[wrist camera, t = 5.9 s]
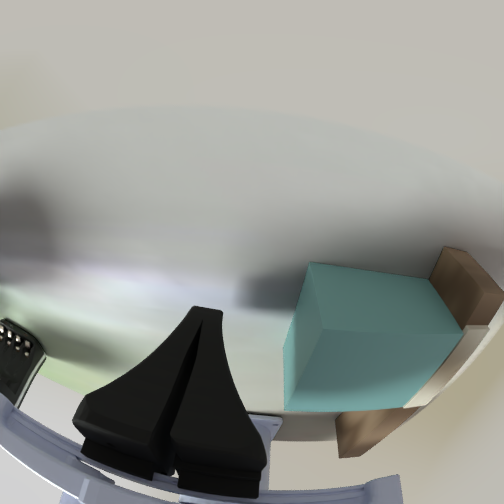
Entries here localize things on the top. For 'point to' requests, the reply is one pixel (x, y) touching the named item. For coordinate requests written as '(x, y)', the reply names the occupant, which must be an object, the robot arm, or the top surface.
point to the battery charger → (18, 361)
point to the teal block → (363, 340)
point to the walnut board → (474, 328)
